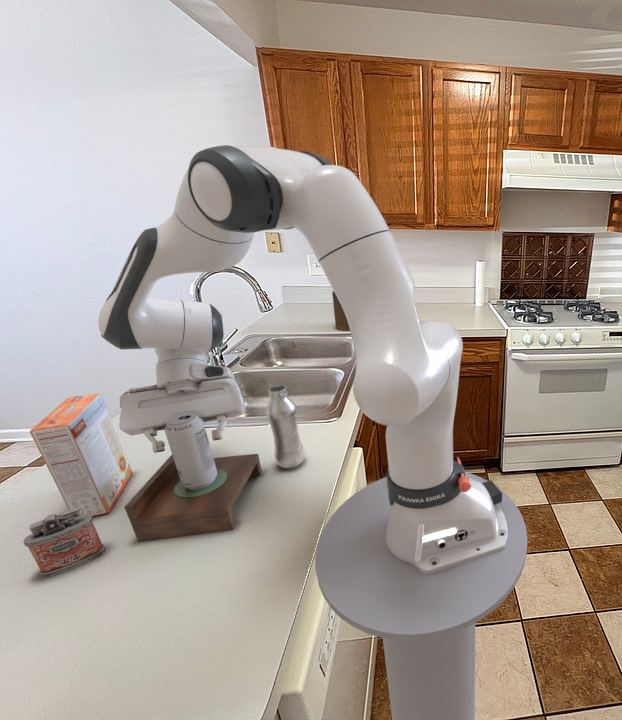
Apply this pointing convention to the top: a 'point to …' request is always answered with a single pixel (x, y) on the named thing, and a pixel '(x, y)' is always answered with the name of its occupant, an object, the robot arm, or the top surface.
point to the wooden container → (339, 314)
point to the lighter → (63, 542)
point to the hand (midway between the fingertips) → (189, 445)
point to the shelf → (190, 500)
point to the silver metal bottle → (284, 428)
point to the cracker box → (83, 454)
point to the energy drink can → (191, 450)
